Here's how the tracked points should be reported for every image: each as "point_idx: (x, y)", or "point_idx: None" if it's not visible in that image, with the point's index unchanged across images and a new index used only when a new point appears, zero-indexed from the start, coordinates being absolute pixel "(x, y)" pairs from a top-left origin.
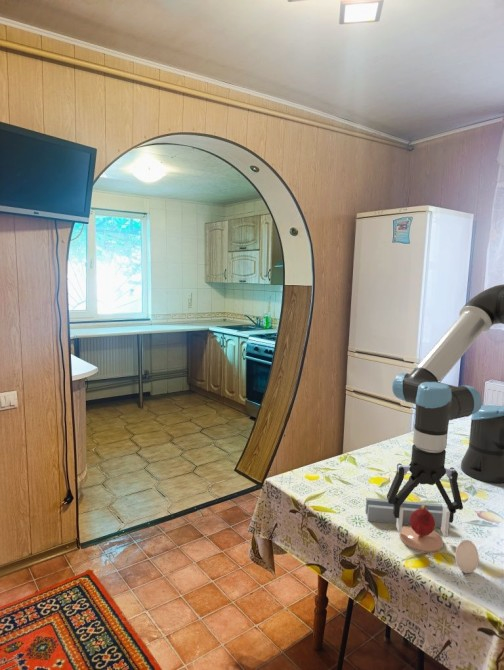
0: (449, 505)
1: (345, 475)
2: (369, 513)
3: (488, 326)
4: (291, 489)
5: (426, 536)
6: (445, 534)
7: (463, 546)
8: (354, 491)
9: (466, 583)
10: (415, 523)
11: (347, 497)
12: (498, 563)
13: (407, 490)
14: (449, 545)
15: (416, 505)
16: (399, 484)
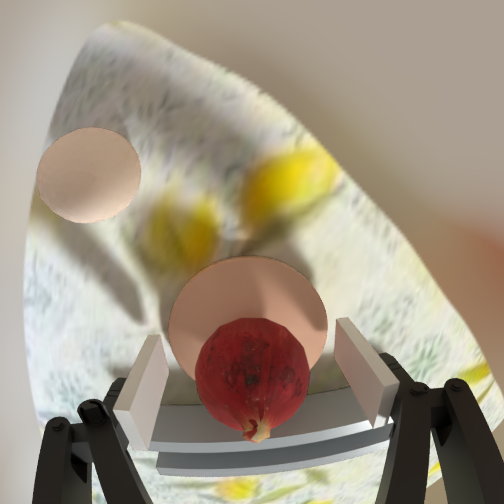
0: (107, 440)
1: (374, 498)
2: None
3: None
4: (494, 407)
5: None
6: (154, 339)
7: (86, 150)
8: (380, 467)
9: (133, 109)
10: (296, 346)
11: None
12: (25, 254)
13: (419, 476)
14: (147, 320)
15: (245, 464)
16: (486, 477)
